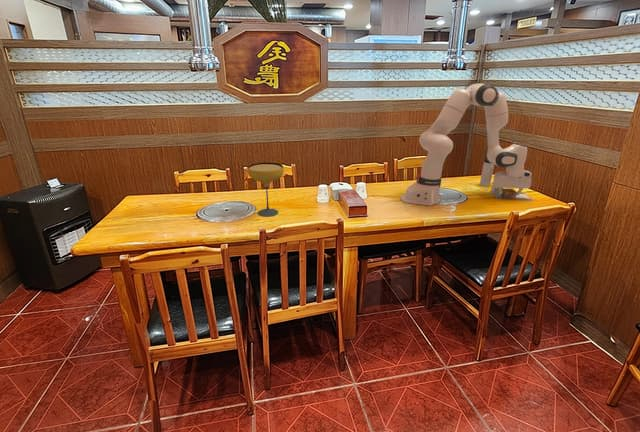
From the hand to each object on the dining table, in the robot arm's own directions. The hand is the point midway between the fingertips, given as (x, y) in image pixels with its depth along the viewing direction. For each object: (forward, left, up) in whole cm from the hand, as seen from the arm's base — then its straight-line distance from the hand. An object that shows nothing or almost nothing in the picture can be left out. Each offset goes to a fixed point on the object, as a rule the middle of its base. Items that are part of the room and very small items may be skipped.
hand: (508, 194), depth 205 cm
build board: (+3, +4, -3) cm, 6 cm away
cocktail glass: (-135, -44, -3) cm, 142 cm away
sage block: (-4, +8, -2) cm, 10 cm away
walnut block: (0, 0, -2) cm, 2 cm away
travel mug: (-7, +23, -3) cm, 24 cm away
